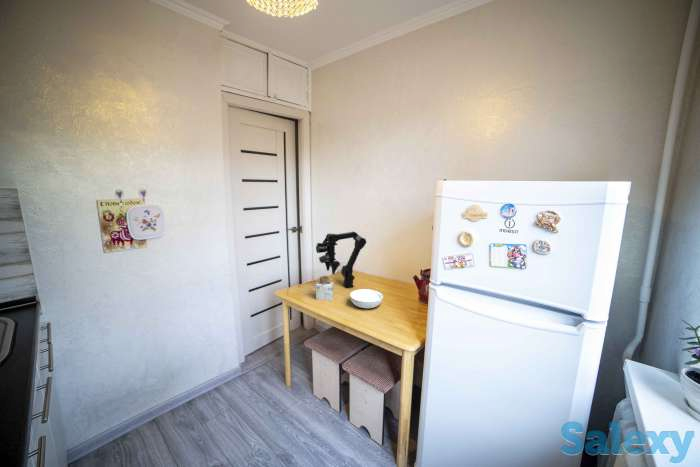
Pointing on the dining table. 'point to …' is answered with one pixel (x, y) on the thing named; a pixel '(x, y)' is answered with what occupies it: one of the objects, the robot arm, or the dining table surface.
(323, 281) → the walnut block
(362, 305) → the serving bowl
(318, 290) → the light bulb box
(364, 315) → the dining table surface
